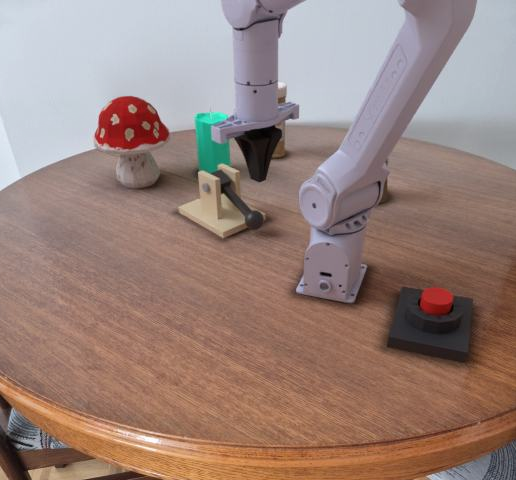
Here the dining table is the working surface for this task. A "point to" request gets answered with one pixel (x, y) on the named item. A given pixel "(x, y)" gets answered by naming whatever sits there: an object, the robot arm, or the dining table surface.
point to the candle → (210, 142)
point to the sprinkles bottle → (281, 99)
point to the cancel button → (436, 301)
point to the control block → (431, 327)
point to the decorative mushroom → (132, 139)
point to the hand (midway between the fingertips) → (258, 179)
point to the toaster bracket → (217, 204)
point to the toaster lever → (239, 202)
